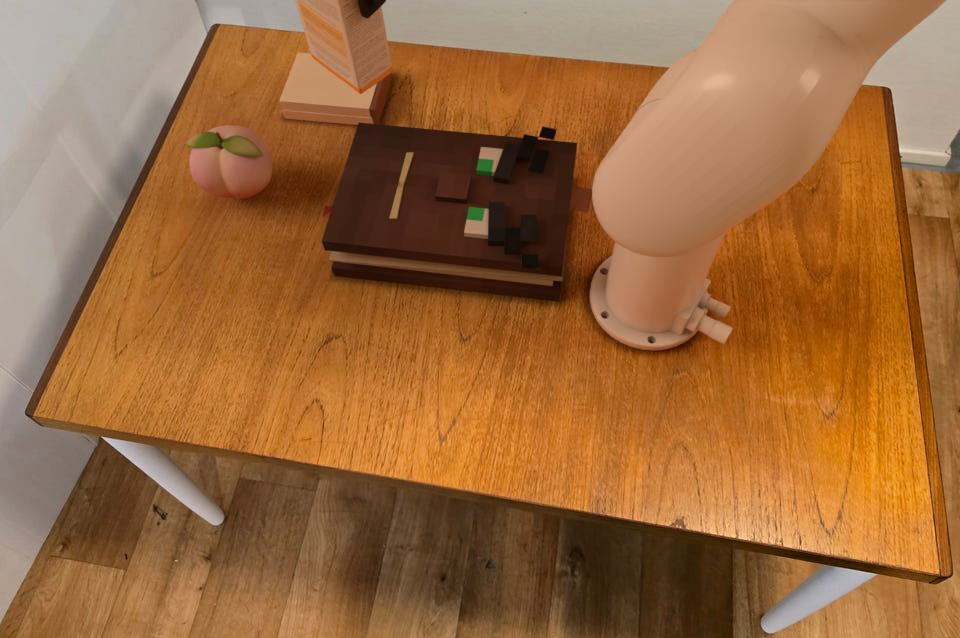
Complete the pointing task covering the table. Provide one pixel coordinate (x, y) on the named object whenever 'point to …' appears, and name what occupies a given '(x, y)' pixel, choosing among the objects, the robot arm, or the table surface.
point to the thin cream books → (329, 96)
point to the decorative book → (455, 210)
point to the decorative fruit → (230, 161)
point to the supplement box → (347, 41)
